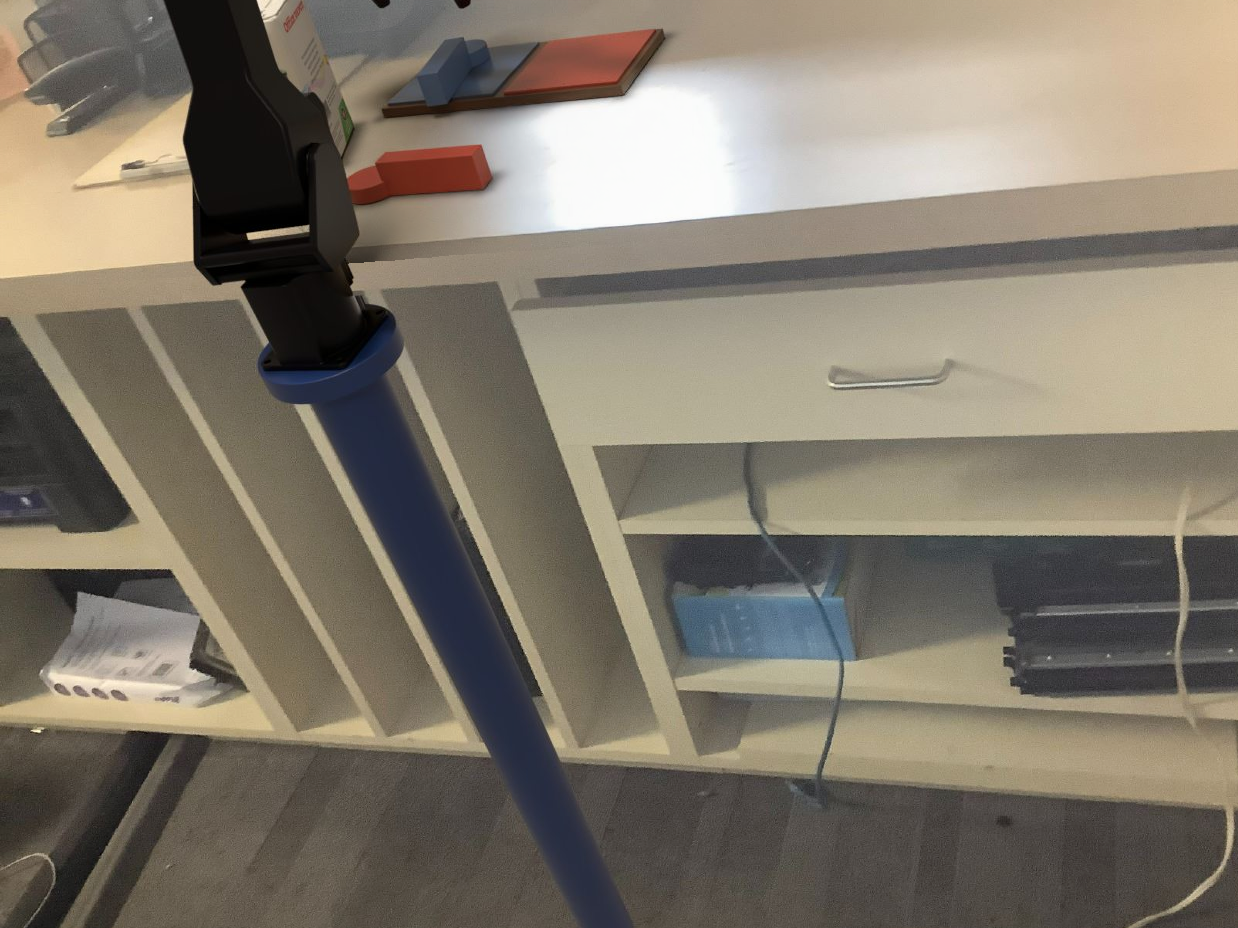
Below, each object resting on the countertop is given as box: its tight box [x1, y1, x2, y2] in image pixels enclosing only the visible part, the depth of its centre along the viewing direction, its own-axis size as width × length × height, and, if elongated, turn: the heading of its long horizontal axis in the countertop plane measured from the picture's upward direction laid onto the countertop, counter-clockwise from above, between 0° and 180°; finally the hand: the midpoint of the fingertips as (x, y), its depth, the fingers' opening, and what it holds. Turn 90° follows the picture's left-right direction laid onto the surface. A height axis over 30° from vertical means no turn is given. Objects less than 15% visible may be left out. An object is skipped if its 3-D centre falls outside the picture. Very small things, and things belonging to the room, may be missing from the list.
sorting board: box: [380, 28, 665, 118], centre depth 97 cm, size 12×22×1 cm, turn 75°
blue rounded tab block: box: [416, 36, 490, 107], centre depth 97 cm, size 12×4×3 cm, turn 173°
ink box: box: [257, 0, 355, 157], centre depth 90 cm, size 8×5×12 cm, turn 4°
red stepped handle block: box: [347, 143, 493, 205], centre depth 83 cm, size 12×4×3 cm, turn 75°
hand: (424, 6), depth 92 cm, fingers open, 9 cm apart
